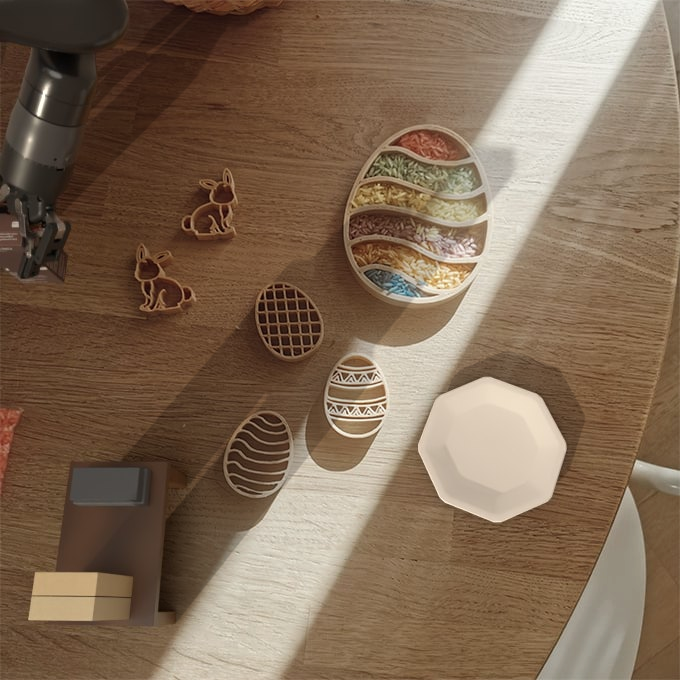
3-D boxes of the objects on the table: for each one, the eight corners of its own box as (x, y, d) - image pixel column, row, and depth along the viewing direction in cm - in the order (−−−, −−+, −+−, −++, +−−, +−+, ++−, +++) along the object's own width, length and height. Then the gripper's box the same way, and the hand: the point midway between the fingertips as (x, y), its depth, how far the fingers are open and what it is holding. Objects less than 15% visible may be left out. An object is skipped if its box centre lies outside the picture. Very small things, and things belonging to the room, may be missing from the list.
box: (21, 286, 96) (-30, 246, 84) (27, 255, 97) (-23, 211, 86) (66, 286, 95) (20, 245, 84) (71, 254, 96) (26, 210, 85)
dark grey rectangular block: (79, 505, 94) (66, 501, 90) (83, 471, 95) (71, 465, 92) (148, 505, 93) (138, 501, 90) (151, 471, 95) (142, 465, 91)
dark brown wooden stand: (85, 623, 100) (47, 625, 89) (102, 476, 107) (70, 461, 96) (178, 624, 99) (153, 626, 88) (190, 476, 106) (167, 461, 95)
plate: (448, 364, 110) (449, 361, 109) (577, 411, 106) (579, 409, 105) (402, 486, 104) (402, 485, 103) (536, 540, 101) (538, 540, 99)
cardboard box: (72, 618, 89) (28, 620, 78) (78, 576, 91) (34, 571, 79) (129, 619, 89) (92, 620, 77) (133, 576, 90) (98, 572, 79)
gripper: (-24, 102, 79) (-51, 221, 88) (48, 186, 75) (12, 301, 84) (38, 104, 85) (7, 215, 94) (109, 182, 81) (69, 290, 90)
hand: (9, 255), depth 89 cm, fingers closed on box, 7 cm apart
